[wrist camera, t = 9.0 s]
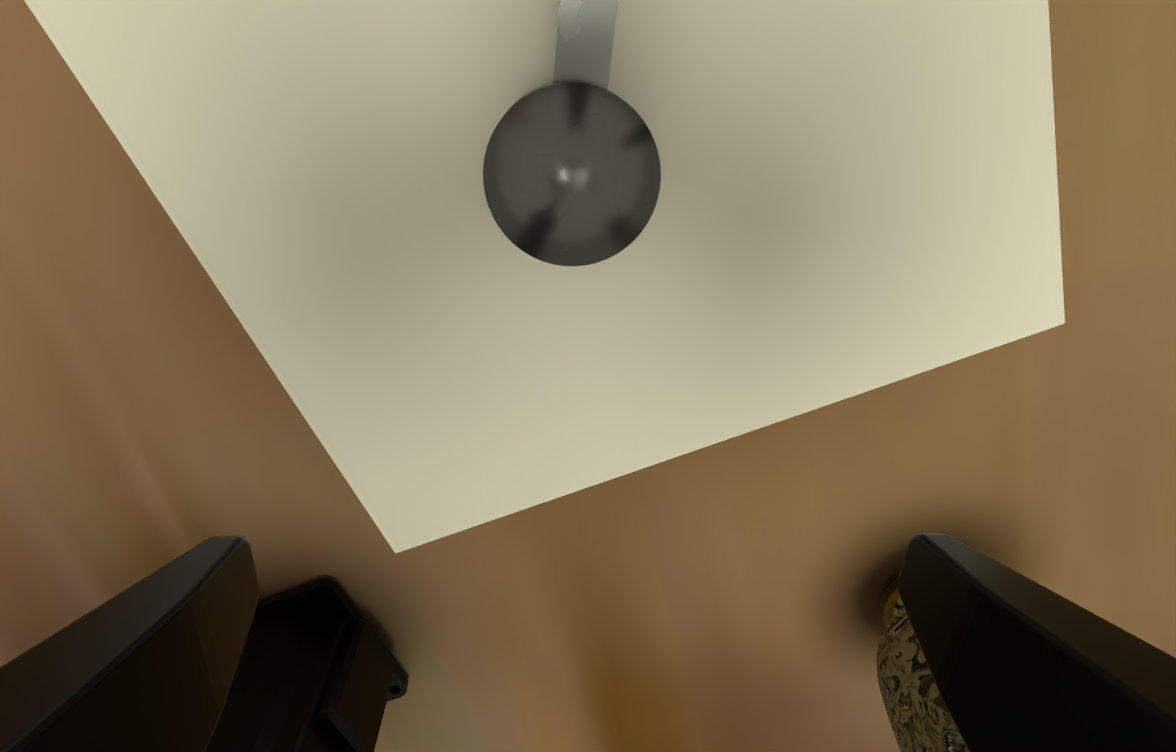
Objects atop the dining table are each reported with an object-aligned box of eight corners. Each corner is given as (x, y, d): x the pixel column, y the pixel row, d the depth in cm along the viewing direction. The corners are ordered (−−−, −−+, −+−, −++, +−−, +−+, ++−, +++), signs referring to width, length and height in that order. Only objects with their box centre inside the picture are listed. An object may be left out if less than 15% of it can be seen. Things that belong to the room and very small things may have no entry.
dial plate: (407, 515, 24) (394, 557, 22) (-189, -417, 13) (-321, -501, 11) (1021, 300, 21) (1069, 326, 19) (907, -1070, 11) (990, -1328, 9)
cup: (820, 665, 28) (911, 872, 21) (834, 530, 25) (948, 721, 18) (991, 647, 28) (1140, 848, 21) (1027, 510, 25) (1218, 693, 18)
